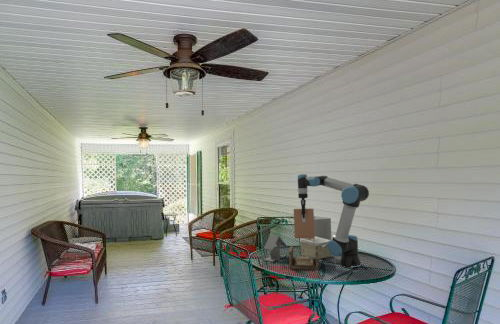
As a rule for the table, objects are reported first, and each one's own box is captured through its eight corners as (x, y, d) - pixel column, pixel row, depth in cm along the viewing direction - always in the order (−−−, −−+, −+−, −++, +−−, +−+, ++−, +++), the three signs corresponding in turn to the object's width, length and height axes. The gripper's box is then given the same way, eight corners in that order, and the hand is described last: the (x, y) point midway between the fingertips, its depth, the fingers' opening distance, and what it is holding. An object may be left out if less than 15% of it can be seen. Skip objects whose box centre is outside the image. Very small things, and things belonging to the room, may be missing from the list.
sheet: (295, 237, 272) (293, 208, 273) (314, 237, 269) (313, 208, 269) (294, 238, 270) (293, 209, 270) (314, 238, 267) (313, 209, 267)
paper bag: (305, 248, 306) (304, 218, 306) (315, 245, 316) (314, 216, 316) (322, 251, 292) (321, 220, 292) (332, 248, 302) (331, 217, 302)
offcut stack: (295, 265, 251) (294, 256, 251) (313, 266, 248) (313, 256, 248) (294, 268, 245) (294, 258, 245) (313, 268, 242) (313, 259, 242)
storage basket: (300, 255, 285) (299, 238, 285) (314, 252, 293) (313, 235, 293) (319, 261, 264) (318, 243, 264) (333, 258, 272) (333, 240, 272)
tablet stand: (273, 263, 265) (272, 238, 265) (264, 261, 271) (263, 236, 271) (286, 257, 278) (285, 234, 278) (277, 255, 285) (276, 232, 285)
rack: (291, 263, 262) (290, 245, 262) (318, 263, 258) (318, 246, 258) (289, 270, 244) (288, 251, 245) (318, 271, 240) (317, 252, 240)
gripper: (298, 192, 278) (300, 220, 278) (297, 194, 263) (298, 223, 263) (307, 192, 277) (309, 220, 277) (307, 193, 262) (308, 223, 261)
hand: (304, 221), depth 270 cm, fingers closed on sheet, 2 cm apart
